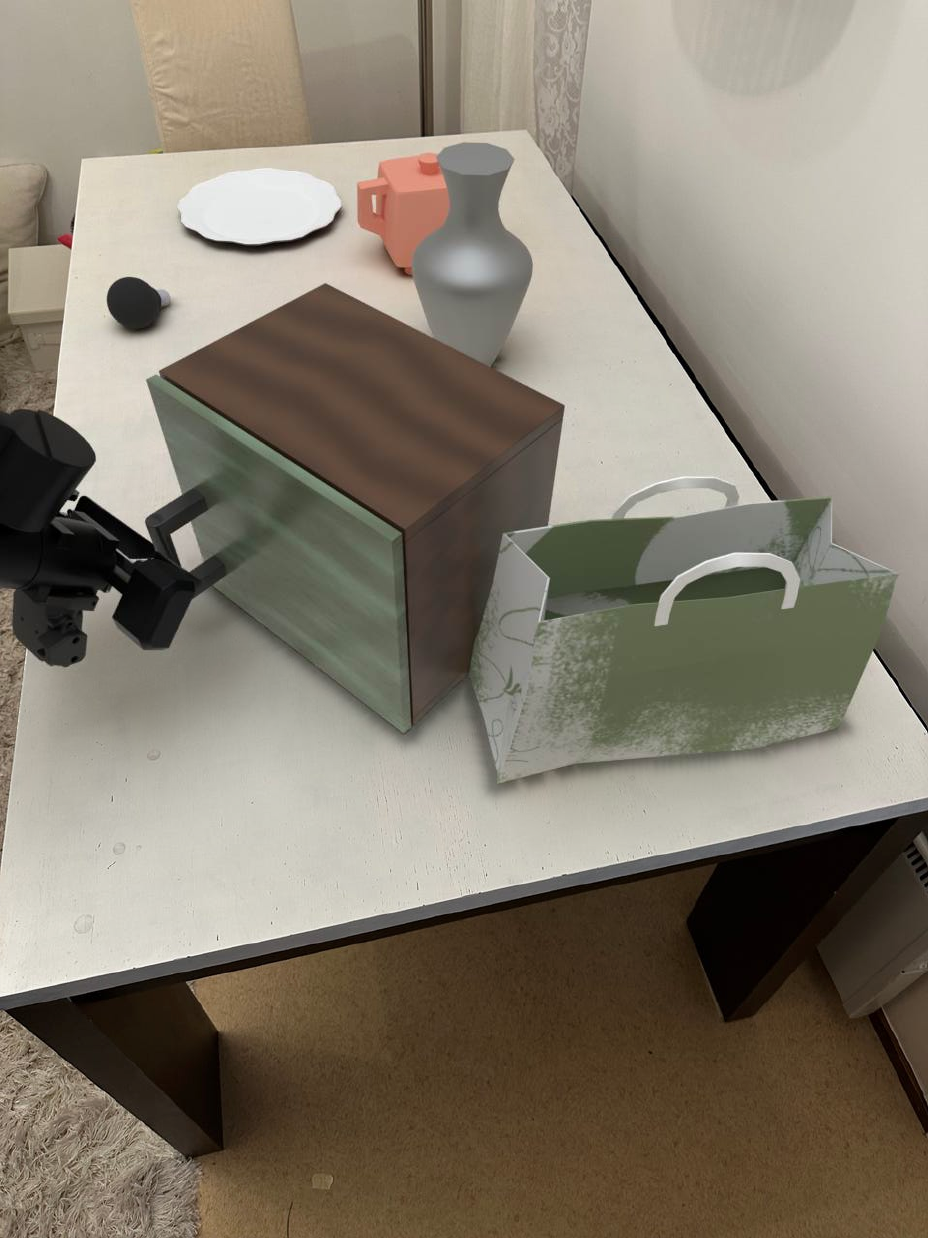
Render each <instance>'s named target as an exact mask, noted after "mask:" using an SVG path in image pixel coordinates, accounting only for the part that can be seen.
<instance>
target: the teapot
mask: <svg viewBox="0 0 928 1238" xmlns="http://www.w3.org/2000/svg"><path fill="white" fill-rule="evenodd" d="M438 154H439V153H435V152H423V153H420V154H419V155H412V156H406V157H398V158H392V159H386V160H381V161H380V162H379V163H378V169H377V176H376V177H377V178H372V179H368V180H361V181H357V182H356V191H357V192H356V197H357V198H356V201H357V202H356V203H357V204H356V205H357V206H356V207H357V208H356V210H357V212H356V213H357V214H356V215H357V219H356V220H357V222H358V225H359V227H360V228H361V229H363V230H365V231H367V232H370V233H373V234H376V235H377V236H379V237H380V239H381V242H382V243H383V245H384V247H385V250H386V251H387V253H388V255H389V256H390V258H391V260H392V262H393V263H394V265H395V266H396V267H397V268H404V272H405V274H407V275H409V276H413V274H412V263H411V262H412V257H413V253H414V251H415V249H416V248H417V246H418V244H419V243H420V242H421V241H422V240H423V239H424V238H425V237H426V236H428V235H429V234H430V233H432V232H433V231H435V230H437V229H438V228H440V227H441V226H442V225H443V224H444V222H445V220H446V218H447V215H448V212H449V195H448V190H447V187H446V183H445V180H444V177H443V174H442V171H441V168H440V166H439V163H438V161H437V158H436V157H437V156H438ZM373 196H375V212H374V204H373V203H374V202H373Z"/></svg>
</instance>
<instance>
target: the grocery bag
mask: <svg viewBox="0 0 928 1238" xmlns="http://www.w3.org/2000/svg"><path fill="white" fill-rule="evenodd" d="M682 489H710V490H712V491H715V492H719V493H722V494H724V496H725V497H726V502H725V505H724V506H723V507H717V508H712V509H707V510H702V511H696V512H691V513H686V514H680V515H673V516H650V517H647V516H646V517H626V514H627V513H628V512H629V511H631V509H633V508H634V506H636V504H638V503H640V502H642V501H644V500H646V499H649V498H651V497H653V496H656V495H657V494H662V493H668V492H673V491H679V490H682ZM739 499H740V493H739V492H738V489H737V487H736V485H735V483H732V482H729V481H727V480H724V479H721V478H719V477H716V476H692V475H691V476H686V475H683V476H679V477H675V478H670V479H666V480H661V481H658V482H653V483H652V484H650V485H648V486H646V487H643V488H641V489H640V490H637V491H635V492H633V493H630V494H629V495H628V496H627V497H626V498H625V499H624V500H623V501H621V503H620V504H619V505H618V506H617V507H616V508H615V509H614V510H613V512H612V515H611V517H610V518H601V519H599V518H598V519H585V520H580V521H574V522H567V523H560V524H553V525H548V526H546V527H540V528H533V529H527V530H520V531H513V532H507V533H503V536H502V541H501V545H500V550H499V555H498V560H497V565H496V570H495V575H494V580H493V584H492V588H491V591H490V595H489V598H488V601H487V605H486V608H485V612H484V615H483V619H482V622H481V625H480V629H479V632H478V634H477V637H476V639H475V641H474V646H473V652H472V659H471V664H470V671H469V674H468V676H469V679H470V681H471V685H472V688H473V690H474V694H475V696H476V699H477V702H478V705H479V708H480V711H481V714H482V717H483V720H484V725H485V729H486V732H487V736H488V741H489V745H490V749H491V753H492V757H493V761H494V765H495V769H496V773H497V776H496V784H497V785H499V784H503V783H507V782H510V781H514V780H518V779H522V778H525V777H529V776H533V775H537V774H540V773H541V774H542V773H545V772H549V771H551V770H552V771H553V770H557V769H560V768H563V767H569V766H571V765H577V764H588V763H589V764H590V763H600V762H612V761H622V760H623V761H624V760H633V759H645V758H656V757H657V758H658V757H666V756H677V755H691V754H705V753H714V752H715V753H717V752H728V751H729V752H730V751H741V750H742V751H743V750H754V749H755V750H756V749H759V748H764V747H768V746H771V745H776V744H779V743H783V742H787V741H791V740H796V739H799V738H805V737H809V736H812V735H816V734H821V733H823V732H828V731H832V730H836V729H839V728H840V726H841V724H842V721H843V720H844V717H845V715H846V713H847V711H848V709H849V706H850V704H851V702H852V700H853V697H854V695H855V693H856V690H857V688H858V686H859V684H860V681H861V680H862V677H863V674H864V672H865V670H866V668H867V666H868V663H869V661H870V658H871V656H872V654H873V651H874V650H875V647H876V645H877V643H878V640H879V638H880V635H881V633H882V630H883V627H884V624H885V620H886V618H887V614H888V611H889V607H890V604H891V601H892V598H893V594H894V591H895V589H896V588H895V587H896V584H897V580H898V577H899V573H898V572H896V571H894V570H891V569H890V568H887V567H885V566H884V565H881V564H878V563H876V562H874V561H872V560H870V559H868V558H866V557H864V556H861V555H859V554H857V553H855V552H853V551H851V550H848V549H847V548H844V547H842V546H840V545H837V544H836V543H834V542H833V496H823V497H822V496H821V497H806V498H794V499H779V500H768V501H767V500H765V501H752V502H745V503H740V504H739Z"/></svg>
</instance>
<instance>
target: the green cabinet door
mask: <svg viewBox="0 0 928 1238" xmlns="http://www.w3.org/2000/svg"><path fill="white" fill-rule="evenodd" d="M145 381H146V384H147V387H148V390H149V391H148V392H149V394H150V397H151V401H152V405H153V407H154V410H155V414H156V416H157V420H158V422H159V425H160V428H161V431H162V436H163V438H164V441H165V444H166V448H167V450H168V454H169V457H170V460H171V463H172V467H173V470H174V473H175V476H176V479H177V482H178V485H179V489H180V492H181V495H179V496H178V497H176V498H174V499H172V501H170V502H168V503H167V504H165V505H163V506H162V507H160V508H159V509H157V510H155V511H153V512H152V513H150V514H149V515H148V516H147V517H145V520H144V524H145V526H146V529H147V532H148V535H149V538H150V540H151V542H152V543H153V546H154V548H155V551H158V552H160V553H161V554H163V555H164V556H166V557H167V558H169V559H170V560H171V561H173V562H174V563H176V564H177V565H179V566H180V567H182V568H183V566H182V564H181V561H180V558H179V554H178V552H177V550H176V546H175V544H174V541H173V537H172V534H174V533H175V532H177V531H178V530H180V529H181V528H182V527H185V526H186V525H187V524H189V523H190V524H191V527H192V529H193V534H194V536H195V540H196V542H197V546H198V550H199V552H200V556H201V558H202V563H200V564H198V565H197V566H196V567H194V568H193V569H191V570H190V571H188V572H189V573H191V574H192V575H194V576H195V577H197V578H198V579H200V580H201V581H202V582H203V583H202V585H201V588H200V590H199V591H198V592H197V593H195V594H194V596H193V598H192V600H194V599H196V598H197V597H198V596H199V595H201V594H202V593H204V592H205V591H206V590H208V589H210V588H211V587H212V588H215V590H217V591H219V592H220V593H221V594H222V595H224V596H225V597H226V598H227V599H229V600H230V601H231V602H233V603H234V604H235V605H236V606H238V607H239V608H241V609H242V610H243V611H244V612H245V613H247V614H248V615H250V616H251V617H252V618H254V619H255V620H256V621H257V622H259V623H260V624H261V625H262V626H263V627H265V628H266V629H268V630H269V631H270V632H271V633H272V634H274V635H275V636H277V637H278V638H279V639H280V640H282V641H283V642H285V644H287V645H288V646H290V647H291V648H292V649H294V650H295V651H296V652H297V653H299V654H300V655H301V656H303V657H304V658H305V659H306V660H308V661H309V662H310V663H312V664H313V665H314V666H315V667H316V668H318V669H319V670H321V671H322V672H323V673H324V674H326V676H328V677H330V678H331V679H332V680H334V681H335V682H336V683H337V684H339V685H340V686H341V687H342V688H344V689H345V690H347V691H348V692H349V693H350V694H352V695H353V696H354V697H355V698H357V699H358V700H359V701H360V702H362V703H363V704H365V705H366V706H367V707H369V708H370V709H371V710H372V711H373V712H375V713H376V714H377V715H379V716H380V717H382V719H384V720H385V721H386V722H387V723H389V724H390V725H392V726H393V727H394V728H396V729H397V730H398V731H399V732H401V733H402V734H406V732H408V731H409V730H410V729H411V727H412V724H411V710H410V689H409V668H408V647H407V626H406V605H405V584H404V563H403V542H402V533H401V532H399V531H398V530H396V529H395V528H393V527H392V526H390V525H389V524H387V523H386V522H384V521H382V520H381V519H379V518H378V517H376V516H375V515H373V514H372V513H370V512H368V511H367V510H365V509H364V508H362V507H361V506H359V505H358V504H356V503H355V502H353V501H351V500H350V499H348V498H347V497H345V496H344V495H342V494H341V493H339V492H338V491H336V490H334V489H333V488H331V487H330V486H328V485H327V484H325V483H324V482H322V481H321V480H319V479H317V478H316V477H314V476H313V475H311V474H310V473H308V472H307V471H305V470H303V469H302V468H300V467H299V466H297V465H296V464H294V463H293V462H291V461H290V460H288V459H286V458H285V457H283V456H282V455H280V454H279V453H277V452H276V451H274V450H273V449H271V448H269V447H268V446H266V445H265V444H263V443H262V442H260V441H259V440H257V439H256V438H254V437H252V436H251V435H249V434H248V433H246V432H245V431H243V430H242V429H240V428H238V427H237V426H235V425H234V424H232V423H231V422H229V421H228V420H226V419H225V418H223V417H221V416H220V415H218V414H217V413H215V412H214V411H212V410H211V409H209V408H208V407H206V406H204V405H203V404H201V403H200V402H198V401H197V400H195V399H194V398H192V397H191V396H189V395H187V394H186V393H184V392H183V391H181V390H180V389H178V388H177V387H175V386H173V385H172V384H170V383H169V382H167V381H166V380H164V379H163V378H161V377H160V375H158V374H154V375H152V376H150V377H148V378H146V379H145Z"/></svg>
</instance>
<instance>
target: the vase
mask: <svg viewBox="0 0 928 1238" xmlns="http://www.w3.org/2000/svg"><path fill="white" fill-rule="evenodd" d="M437 154H438V156H437V157H436V158H437V161H438V163H439V166H440V168H441V171H442V174H443V177H444V180H445V183H446V187H447V190H448V195H449V212H448V215H447V218H446V220H445V222H444V224H443V225H442V226H441V227H440V228H438V229H437V230H435V231H433V232H432V233H430V234H429V235H428V236H426V237H425V238H424V239H423V240H422V241H421V242H420V243H419V244H418V246H417V248H416V249H415V251H414V253H413V257H412V262H411V263H412V274H413V275H412V279H413V282H414V286H415V289H416V292H417V295H418V299H419V301H420V305H421V307H422V310H423V313H424V316H425V319H426V322H427V324H428V327H429V330H430V332H431V334H432V338H434V339H436V340H438V341H440V342H442V343H444V344H446V345H448V346H450V347H452V348H454V349H456V350H458V351H460V352H462V353H464V354H466V355H467V356H469V357H471V358H473V359H475V360H477V361H479V362H481V363H483V364H485V365H487V366H489V367H491V368H492V367H493V364H494V362H495V361H496V359H497V357H498V356H499V354H500V352H501V350H502V349H503V347H504V345H505V343H506V341H507V339H508V337H509V335H510V333H511V331H512V329H513V326H514V324H515V321H516V320H517V316H518V314H519V312H520V310H521V308H522V307H521V306H522V304H523V302H524V299H525V297H526V294H527V291H528V289H529V286H530V284H531V280H532V277H533V271H534V270H533V269H534V262H533V258H532V255H531V252H530V250H529V249H528V247H527V246H526V245H525V243H523V241H522V240H521V239H520V238H519V237H518V236H516V235H515V234H513V232H511V231H509V230H508V229H506V228H505V226H504V224H503V222H502V219H501V216H500V211H499V208H500V207H499V206H500V200H501V199H500V198H501V196H502V192H503V188H504V186H505V183H506V180H507V178H508V176H509V173H510V171H511V168H512V167H513V164H514V162H515V158H514V156H513V155H512V154H511V152H509V150H508V149H507V148H504V147H501V146H498V145H495V144H491V143H488V142H469V141H468V142H467V141H466V142H465V141H464V142H459V143H456V144H453V145H452V144H451V145H448V146H446V147H443V148H442V150H441V151H440V152H439V153H437Z"/></svg>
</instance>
